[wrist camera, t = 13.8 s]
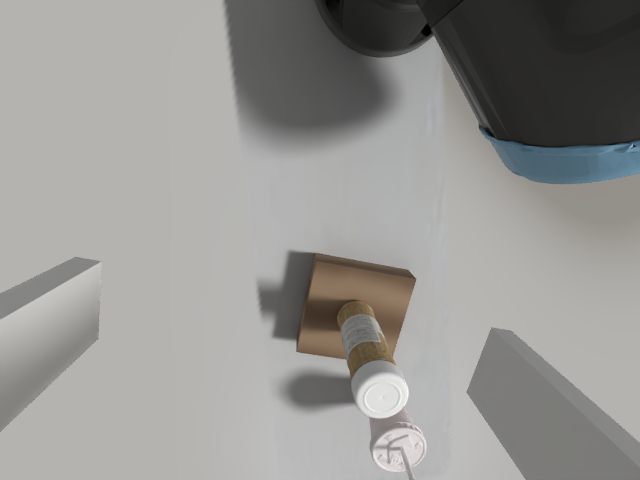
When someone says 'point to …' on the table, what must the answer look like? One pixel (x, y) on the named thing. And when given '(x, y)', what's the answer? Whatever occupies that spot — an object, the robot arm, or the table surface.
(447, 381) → the table surface
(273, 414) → the table surface
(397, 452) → the smoothie
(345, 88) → the table surface
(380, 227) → the table surface
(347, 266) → the walnut base
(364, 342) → the sprinkles bottle
